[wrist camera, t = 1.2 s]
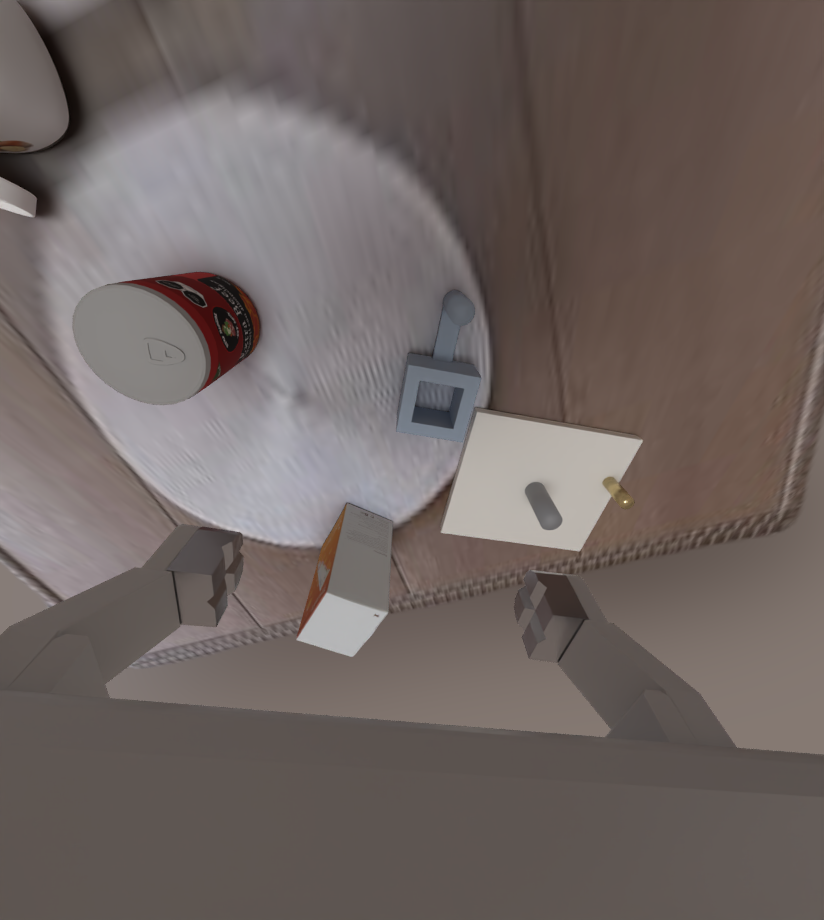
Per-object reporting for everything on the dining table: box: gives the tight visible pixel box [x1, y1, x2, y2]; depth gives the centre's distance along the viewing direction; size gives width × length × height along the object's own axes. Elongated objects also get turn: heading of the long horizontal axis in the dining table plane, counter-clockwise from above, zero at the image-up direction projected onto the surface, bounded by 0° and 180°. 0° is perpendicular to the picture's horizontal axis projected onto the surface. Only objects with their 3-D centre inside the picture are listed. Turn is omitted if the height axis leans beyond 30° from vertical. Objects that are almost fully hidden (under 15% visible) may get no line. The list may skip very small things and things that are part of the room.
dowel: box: [602, 477, 635, 509], centre depth 39 cm, size 1×1×4 cm
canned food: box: [73, 272, 260, 405], centre depth 28 cm, size 8×8×11 cm
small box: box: [296, 503, 393, 657], centre depth 40 cm, size 8×6×13 cm
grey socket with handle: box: [396, 290, 481, 442], centre depth 33 cm, size 12×6×5 cm, turn 169°
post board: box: [440, 407, 643, 551], centre depth 39 cm, size 16×18×7 cm
